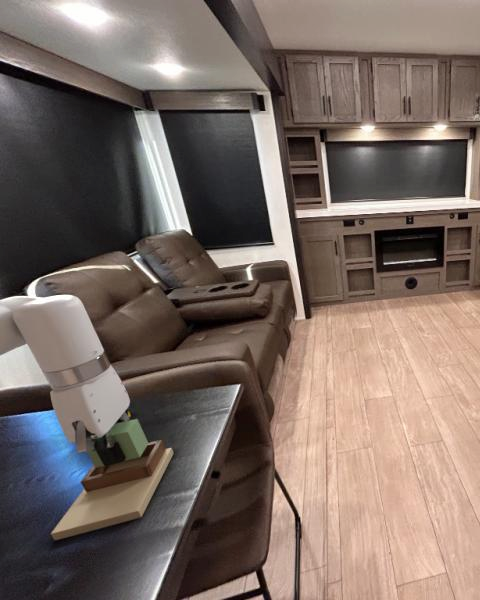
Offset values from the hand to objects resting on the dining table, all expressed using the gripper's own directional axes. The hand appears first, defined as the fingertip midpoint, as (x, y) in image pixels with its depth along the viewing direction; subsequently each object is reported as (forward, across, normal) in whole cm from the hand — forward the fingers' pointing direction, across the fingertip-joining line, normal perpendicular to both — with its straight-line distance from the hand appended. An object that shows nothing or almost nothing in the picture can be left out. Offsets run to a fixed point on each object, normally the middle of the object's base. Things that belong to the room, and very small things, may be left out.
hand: (121, 452), depth 59 cm
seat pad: (+6, +4, 0) cm, 7 cm away
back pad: (+1, 0, 0) cm, 1 cm away
